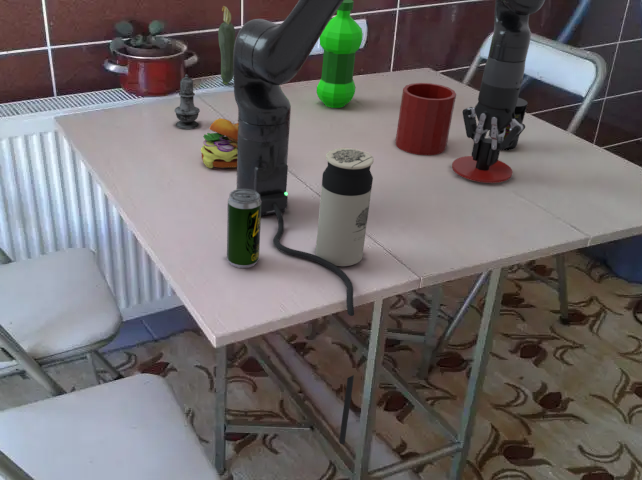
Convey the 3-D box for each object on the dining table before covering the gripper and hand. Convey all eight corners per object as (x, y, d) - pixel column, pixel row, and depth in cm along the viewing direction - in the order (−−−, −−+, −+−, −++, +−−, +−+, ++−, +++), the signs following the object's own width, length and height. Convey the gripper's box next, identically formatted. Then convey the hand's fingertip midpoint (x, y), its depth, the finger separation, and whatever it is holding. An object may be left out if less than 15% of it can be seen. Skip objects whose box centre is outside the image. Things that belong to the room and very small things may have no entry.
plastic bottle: (305, 103, 189) (313, -1, 175) (334, 95, 195) (344, -6, 181) (334, 114, 183) (345, 8, 169) (363, 105, 189) (375, 2, 175)
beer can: (223, 267, 122) (224, 201, 116) (230, 250, 127) (231, 186, 120) (256, 270, 122) (259, 204, 115) (261, 254, 126) (264, 190, 119)
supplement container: (522, 150, 168) (533, 105, 162) (494, 152, 167) (505, 106, 161) (507, 139, 174) (518, 95, 168) (481, 140, 172) (490, 96, 167)
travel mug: (305, 253, 127) (314, 154, 117) (338, 239, 131) (349, 143, 121) (338, 273, 122) (350, 171, 112) (371, 258, 126) (386, 159, 116)
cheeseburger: (187, 160, 157) (195, 113, 153) (223, 159, 164) (231, 113, 161) (220, 175, 151) (229, 126, 147) (256, 173, 159) (265, 126, 155)
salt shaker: (198, 130, 172) (198, 78, 165) (173, 129, 172) (171, 77, 165) (201, 120, 176) (200, 70, 170) (176, 119, 176) (174, 69, 170)
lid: (522, 174, 157) (531, 142, 153) (490, 191, 150) (498, 157, 146) (472, 156, 165) (479, 125, 161) (439, 171, 157) (445, 138, 153)
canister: (455, 147, 169) (466, 92, 162) (425, 159, 162) (435, 103, 155) (415, 132, 175) (424, 79, 168) (385, 143, 169) (393, 89, 162)
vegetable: (237, 86, 198) (238, 7, 187) (222, 88, 196) (223, 9, 185) (229, 81, 201) (230, 4, 190) (215, 83, 199) (215, 5, 188)
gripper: (460, 74, 148) (445, 156, 158) (523, 93, 140) (503, 178, 150) (481, 68, 153) (465, 147, 162) (543, 85, 144) (522, 168, 154)
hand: (483, 161), depth 156 cm, fingers closed on lid, 2 cm apart
